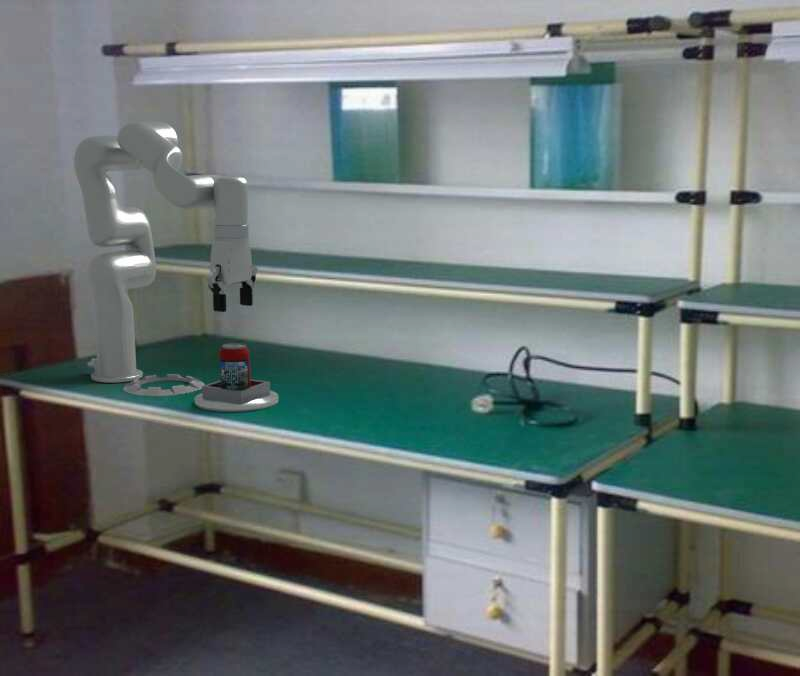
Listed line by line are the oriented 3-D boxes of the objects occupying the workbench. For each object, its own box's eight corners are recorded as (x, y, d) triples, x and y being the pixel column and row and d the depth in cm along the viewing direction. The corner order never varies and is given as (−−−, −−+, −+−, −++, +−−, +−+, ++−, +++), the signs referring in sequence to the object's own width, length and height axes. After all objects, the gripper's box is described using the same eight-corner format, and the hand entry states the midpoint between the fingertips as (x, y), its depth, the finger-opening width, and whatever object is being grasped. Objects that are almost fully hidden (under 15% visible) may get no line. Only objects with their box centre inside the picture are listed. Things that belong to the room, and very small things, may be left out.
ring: (220, 385, 279) (220, 377, 279) (168, 401, 263) (168, 393, 262) (160, 377, 289) (159, 369, 288) (106, 392, 272) (105, 384, 272)
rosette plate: (177, 405, 257) (176, 387, 256) (229, 389, 273) (228, 372, 272) (245, 416, 248) (244, 397, 247) (294, 398, 264) (294, 380, 263)
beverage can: (218, 400, 257) (216, 348, 255) (224, 393, 264) (222, 342, 261) (248, 400, 257) (246, 348, 255) (253, 393, 263) (251, 342, 261)
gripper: (241, 228, 262) (243, 301, 266) (193, 235, 248) (195, 312, 251) (268, 230, 259) (269, 304, 262) (220, 236, 244) (222, 315, 247)
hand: (233, 308), depth 256 cm, fingers open, 9 cm apart
